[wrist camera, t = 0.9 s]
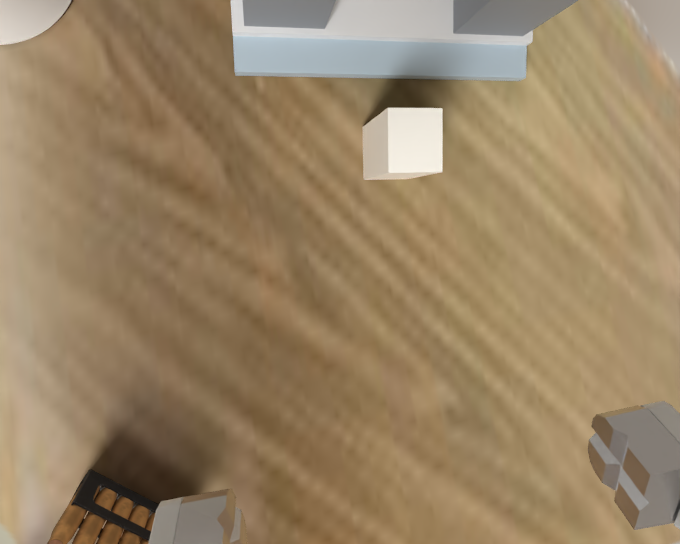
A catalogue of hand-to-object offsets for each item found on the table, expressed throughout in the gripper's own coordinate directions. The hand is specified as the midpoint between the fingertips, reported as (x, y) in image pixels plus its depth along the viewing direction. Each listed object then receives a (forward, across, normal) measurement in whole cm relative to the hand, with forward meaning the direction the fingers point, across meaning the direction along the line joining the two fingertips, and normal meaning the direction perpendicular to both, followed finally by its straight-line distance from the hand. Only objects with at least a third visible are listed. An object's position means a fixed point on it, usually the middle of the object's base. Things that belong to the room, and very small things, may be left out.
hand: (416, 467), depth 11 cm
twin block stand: (+44, -9, -7) cm, 45 cm away
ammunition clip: (+25, +24, +31) cm, 46 cm away
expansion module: (+39, -7, +5) cm, 40 cm away
